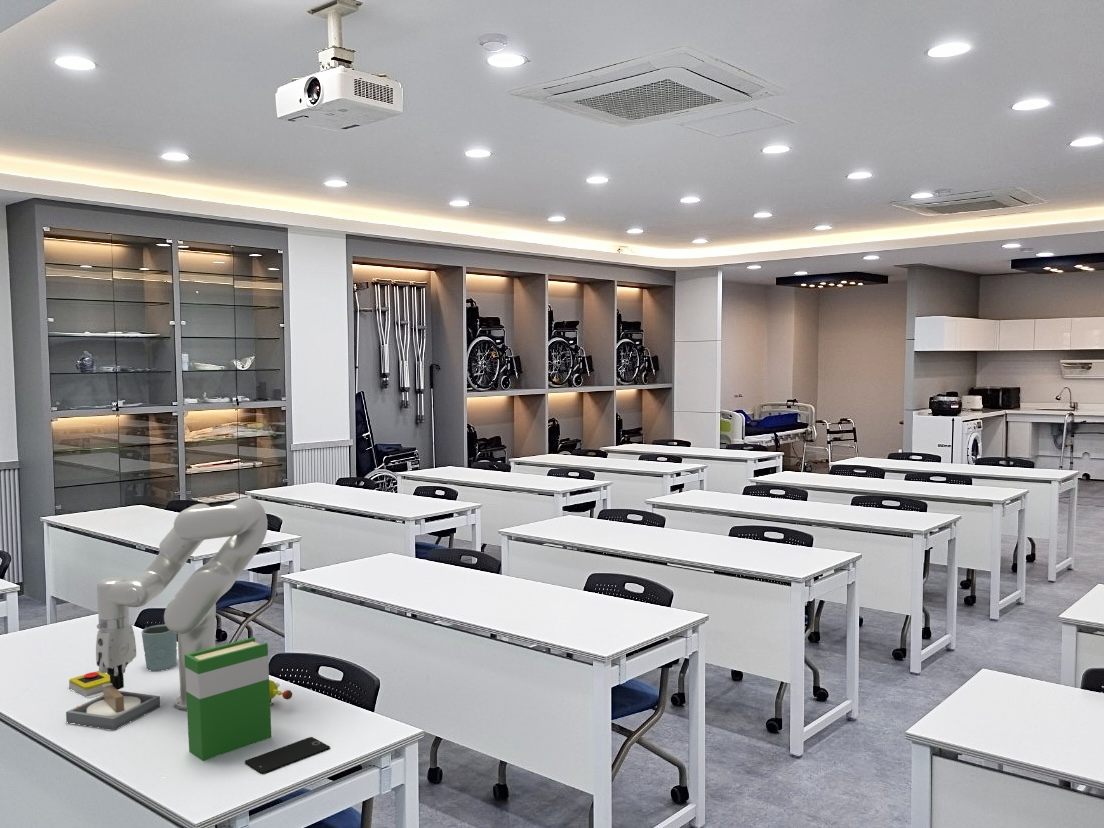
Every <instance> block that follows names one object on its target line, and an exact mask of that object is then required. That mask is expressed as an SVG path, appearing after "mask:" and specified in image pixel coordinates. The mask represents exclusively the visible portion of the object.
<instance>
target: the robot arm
mask: <svg viewBox="0 0 1104 828" xmlns="http://www.w3.org/2000/svg"><path fill="white" fill-rule="evenodd" d="M267 531H268V518H267V514H266V511H265V508H264V507H263V505H262V504H261V503H260V502H259V501H258V500H256V499H254V498H251V497H242V498H239V499H237V500H234V501H233V502H230V503H228V504H225V505H224V504H223V505H218V506H210V505H209V504H205V503H196V504H193V505H191V506H189V507H187V508H185V509H183V510H182V511H180V512H179V513H178V514H177V516H176V517H175V519H174V523H173V527H172V528H171V530H169V532H167V534H166V535H165V537H163V539H162V540H161V541H160V543H159V544H158V545H159V553H158V555H157V556H156V557H155V559H154V560H153V561H152V562H151V563H150V565H149V566H148V567H147V568H146V569H145V570H144V572H143V573H141V574H139V575H138V576H136V577H134V578H132V579H130V580H127V579H126V578H125V577H123V576H111V577H105V578H103V579H100V580H99V581H98V582H97V584H96V595H97V596H96V597H97V616H98V624H97V625H96V629H98V631H97V635H96V642H95V663H96V666H97V667H98V671H99V673H106V674H108V675H110V683H112V685H113V686H114V687H115V688H116V689H117V690H118V691H120V690H122V689H124V688H125V685H124V683H125V682H124V681H125V680H124V679H125V678H124V674H125V673H126V668H127V666H128V665H129V664H130V663H131V662H133V660H134V659H135V658H137V643H136V636H135V631H134V628H133V626H132V623H130V613H129V608H141V607H143V606H145V605H146V604H148V603H149V602H150V601H152V600H153V599H155V598H158V597H159V595H161V594H162V593H163V591H164V590H165V589H167V587H168V586H169V585H170V583H171V582H172V581H173V580H174V579H175V577H176V576H177V575H178V574H179V572H180V571H181V569H182V568H183V567H184V566H185V564H186V563H187V561H188V560H189V559H190V557H191V556H192V555H193V554H194V552H195V551H196V550H197V549H198V548H199V546H200V545H201V544H202V543H203V542H204V541H207V540H212V539H213V540H214V539H221V538H227V539H226V541H225V542H224V543H223V544H222V546H221V548H220V549H219V550H218V551H217V552H216V554H215V555H214V556H213V557H212V558H211V559H210V560H209V561H208V562H207V563H205V564H203V565H202V566H200V567H199V568H198V569H196V570H195V571H194V572H193V573H192V574H191V575H190V576H189V577H188V578H187V580H186V581H185V583H184V584H183V585H182V587H181V588H180V589H179V590H178V591H177V593H176V594H175V595H174V597H173V598H172V599H171V601H170V602H169V603H168V604H167V606H166V608H165V610H164V614H163V621H164V624H165V625H166V626H167V628H168V629H169V630H170V631H172V632H174V633H177V651H178V652H177V655H178V670H179V671H178V673H179V691H180V692H179V695H180V696H178V697H176V698H175V700H174V707H175V708H176V709H178V710H181V711H182V710H184V711H187V697H186V677H185V657H184V655H186V654H190V653H193V652H197V651H201V650H205V649H209V648H213V647H216V637H215V636H216V634H215V633H216V628H215V627H216V617H217V616H216V614H217V613H216V612H217V604H216V603H217V602H218V601H219V600H220V598H221V597H222V596H224V595H225V594H226V593H227V592H228V591H230V589H232V587H233V585H235V582H236V581H237V580H238V578H239V577H240V575H241V574H242V573H243V571H245V569H246V568H247V566H248V565H249V563H250V562H251V561H252V560H253V558H255V557H254V556H255V555H256V554H257V552H258V551H259V550H260V548H261V547H262V545H263V544H264V540H265V539H266V535H267ZM119 689H120V690H119Z"/></svg>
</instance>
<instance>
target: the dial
mask: <svg viewBox="0 0 1104 828" xmlns="http://www.w3.org/2000/svg"><path fill="white" fill-rule="evenodd" d="M119 691H120V690H117V689H116V688H115V687H114V686H113V685H112V683H108V684H104V685H103V695H104V700H101V701H98V702H96V703H94V704H92V705H90V706H89V707H88V708H87V713H89V714H96V715H103V716H110V717H115V716H117V715H119V714H121V713H123V712H125V711H127V710H129V709H131V708H133V707H135V706H137V705H139V704H141V701H140V699H139V698H137V697H133V696H123V695H122V694H121V693H120V692H119Z"/></svg>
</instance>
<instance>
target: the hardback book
mask: <svg viewBox="0 0 1104 828" xmlns="http://www.w3.org/2000/svg"><path fill="white" fill-rule="evenodd" d="M184 657H185V677H186V697H187V710H186V712H187V713H186V716H187V731H188V732H187V733H188V752H189V753H191V755H193V756H195V757H196V758H197V759H198V760H200V761H202V762H204V761H207V760H211V759H214V758H216V757H219V756H221V755H224V754H228V753H230V752H234V751H235V750H236V751H237V750H239V749H242V748H245V747H248V746H251V745H253V744H257V743H259V742H262V741H265V740H269V739H272V716H271V715H272V714H271V706H270V688H269V680H270V670H269V669H270V668H269V645H268V643H267V642H263V643H258V642H256V637H253V636H252V637H249V638H246V639H243V640H242V639H241V640H238V641H234V642H233V641H232V642H230V643H226V644H221V645H217V646H215V647H213V648H209V649H205V650H201V651H197V652H193V653H190V654H186V655H184Z"/></svg>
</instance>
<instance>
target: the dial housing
mask: <svg viewBox="0 0 1104 828" xmlns="http://www.w3.org/2000/svg"><path fill="white" fill-rule="evenodd" d="M118 691H119V692H120V693H121V694H122V695H123V696H133V697H137V698H139V699H140V701H141V704H139V705H137V706H135V707H133V708H131V709H129V710H127V711H125V712H123V713H121V714H119V715H117V716H115V717H110V716H103V715H96V714H89V713H87V708H88V707H89V706H90V705H92V704H94V703H96V702H98V701H101V700H104V694H103V695H100V696H97V697H95V698H94V699H93V698H92V699H91V700H89V701H87V702H85V703H82V704H80V705H77V706H75V707H73V708H72V709H69V710H67V711H65V716H66V719H65V720H66V723H67V722H68V723H67V724H70V723H75V724H74V725H76V724H80V725H79V726H82V725H86V726H85V727H89V726H92V727H91V728H95V727H99V728H98V729H102V728H104V729H103V730H108V729H109V730H110V731H116V730H118V729H119V727H120V728H121V726H122V727H123V725H124V726H126V725H128V724H130V723H131V722H133V721H135V720H137V719H140V718H142V717H143V716H145V715H147V714H149V713H151V712H153V711H155V710H158V709H159V708H160V707H161V699H160V698H161V696H160V695H152V694H146V693H137V692H131V691H125V690H124V691H123V690H118ZM144 714H145V715H144ZM130 721H131V722H130ZM129 722H130V723H129ZM127 723H128V724H127ZM125 724H126V725H125ZM117 728H118V729H117Z"/></svg>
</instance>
